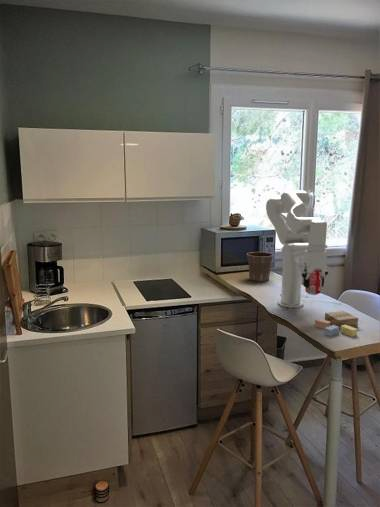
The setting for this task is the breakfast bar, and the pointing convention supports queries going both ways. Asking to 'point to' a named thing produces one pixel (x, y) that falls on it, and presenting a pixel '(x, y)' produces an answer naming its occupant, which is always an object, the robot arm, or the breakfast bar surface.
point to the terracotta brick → (322, 323)
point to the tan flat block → (341, 319)
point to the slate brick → (331, 330)
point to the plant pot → (259, 265)
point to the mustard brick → (348, 330)
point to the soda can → (315, 282)
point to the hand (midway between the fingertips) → (313, 286)
